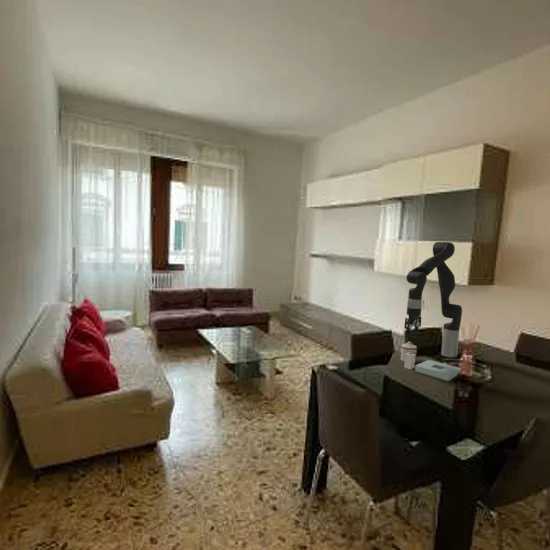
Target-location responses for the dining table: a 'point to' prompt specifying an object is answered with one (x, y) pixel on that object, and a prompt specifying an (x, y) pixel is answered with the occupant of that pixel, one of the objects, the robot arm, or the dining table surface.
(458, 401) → the dining table surface
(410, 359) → the cream block with knob
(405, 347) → the teacup with lid
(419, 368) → the outlet block
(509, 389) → the dining table surface
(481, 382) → the dining table surface
